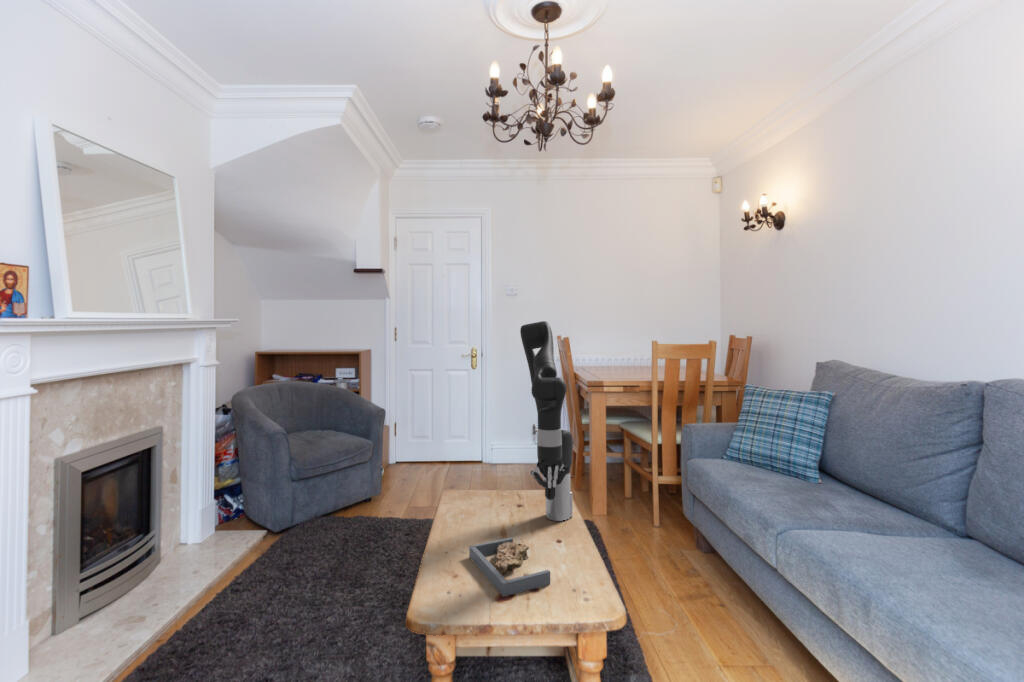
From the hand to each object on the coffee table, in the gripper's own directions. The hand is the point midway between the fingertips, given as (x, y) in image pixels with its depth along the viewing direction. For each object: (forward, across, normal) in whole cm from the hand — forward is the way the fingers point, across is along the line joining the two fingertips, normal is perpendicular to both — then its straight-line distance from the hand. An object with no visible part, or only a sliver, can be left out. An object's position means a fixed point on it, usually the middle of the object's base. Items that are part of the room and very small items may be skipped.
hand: (550, 498), depth 147 cm
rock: (+19, +12, -3) cm, 23 cm away
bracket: (+19, +15, 0) cm, 24 cm away
